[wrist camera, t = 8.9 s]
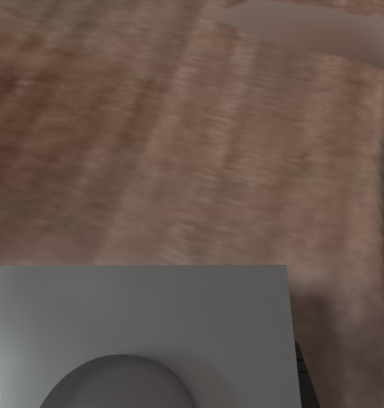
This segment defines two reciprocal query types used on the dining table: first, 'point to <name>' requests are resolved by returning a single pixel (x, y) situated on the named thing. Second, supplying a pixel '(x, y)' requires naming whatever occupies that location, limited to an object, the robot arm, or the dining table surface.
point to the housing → (147, 337)
